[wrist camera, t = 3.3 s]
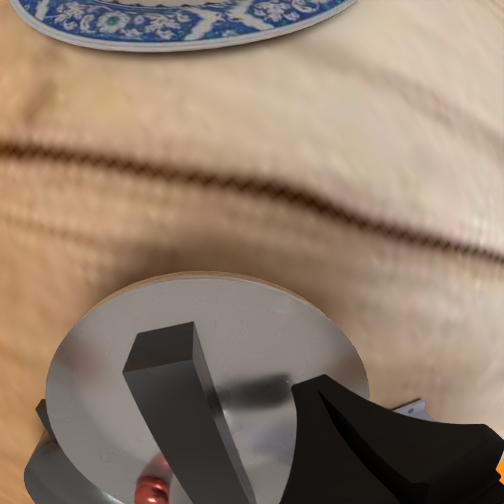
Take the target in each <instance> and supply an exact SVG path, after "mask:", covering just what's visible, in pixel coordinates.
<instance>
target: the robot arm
mask: <svg viewBox="0 0 504 504" xmlns="http://www.w3.org/2000/svg"><path fill="white" fill-rule="evenodd" d="M291 391H292V395H293V399H294V403H295V407H296V417H297V428H296V442H295V450H294V456H293V461H292V466H291V470H290V474H289V477H288V481H287V484H286V487H285V489H284V492H283V495H282V498H281V500H280V503H279V504H504V484H503V483H502V482H501V481H500V479H501V474H500V473H499V472H498V471H497V470H496V468H497V466H498V463H499V461H500V459H501V456H502V454H503V451H504V440H503V439H502V438H501V437H500V436H499V435H498V434H497V433H496V432H495V431H494V430H492V429H491V428H489V427H488V426H487V425H485V424H450V423H440V422H435V421H434V420H433V419H432V418H431V417H430V416H429V415H428V414H427V413H426V412H425V410H424V408H425V402H424V401H423V400H418V401H416V402H414V403H411V404H409V405H406V406H404V407H401V408H398V409H396V410H393V411H391V410H389V409H386V408H384V407H382V406H379V405H377V404H375V403H373V402H371V401H369V400H367V399H365V398H363V397H361V396H359V395H358V394H356V393H354V392H352V391H351V390H349V389H347V388H346V387H344V386H343V385H341V384H340V383H338V382H337V381H335V380H334V379H332V378H331V377H329V376H328V375H326V374H323V375H320V376H317V377H314V378H312V379H309V380H306V381H303V382H300V383H297V384H294V385H293V386H292V387H291Z"/></svg>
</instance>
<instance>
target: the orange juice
mask: <svg viewBox="0 0 504 504" xmlns="http://www.w3.org/2000/svg"><path fill="white" fill-rule="evenodd" d="M496 470H497V471H498V472H499V473H500V474H501V479H500V481H501V482H502V483H503V484H504V459H503V460H502V461H501V463H500V464H499V465H498V466H497V468H496Z"/></svg>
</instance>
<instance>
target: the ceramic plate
mask: <svg viewBox="0 0 504 504" xmlns="http://www.w3.org/2000/svg"><path fill="white" fill-rule="evenodd" d="M9 1H10V3H11V5H12V6H13V8H14V10H15V11H16V13H17V14H18V15H19V16H20V18H21V19H22V20H24V21H25V22H26V23H27V24H28V25H29V26H31V27H32V28H34V29H36V30H37V31H39V32H41V33H42V34H44V35H47V36H49V37H52V38H54V39H56V40H59V41H62V42H66V43H69V44H73V45H77V46H83V47H88V48H94V49H99V50H105V51H126V52H175V51H192V50H201V49H211V48H220V47H226V46H233V45H240V44H245V43H250V42H255V41H260V40H266V39H269V38H273V37H277V36H281V35H285V34H289V33H292V32H295V31H298V30H301V29H304V28H307V27H309V26H312V25H314V24H317V23H319V22H321V21H324V20H326V19H328V18H330V17H332V16H334V15H335V14H337V13H339V12H341V11H343V10H344V9H346V8H347V7H348V6H350V5H351V4H353V3H354V2H356V1H357V0H9Z"/></svg>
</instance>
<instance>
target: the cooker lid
mask: <svg viewBox="0 0 504 504" xmlns="http://www.w3.org/2000/svg"><path fill="white" fill-rule="evenodd" d="M323 374H326V375H328V376H329V377H331V378H332V379H334V380H335V381H337V382H338V383H340V384H341V385H343V386H344V387H346V388H347V389H349V390H351V391H352V392H354V393H356V394H358V395H359V396H361V397H363V398H365V399H367V400H369V398H370V394H369V385H368V379H367V375H366V372H365V368H364V365H363V363H362V361H361V359H360V357H359V355H358V353H357V351H356V349H355V347H354V346H353V345H352V343H351V342H350V341H349V339H348V338H347V337H346V335H345V334H344V333H343V332H342V331H341V330H340V329H339V328H338V327H337V326H336V325H335V324H334V323H333V322H332V321H331V320H330V319H329V318H328V317H327V316H326V315H325V314H324V313H323V312H322V311H321V310H320V309H319V308H317V307H316V306H314V305H313V304H312V303H310V302H309V301H307V300H306V299H304V298H303V297H302V296H300V295H298V294H296V293H294V292H292V291H290V290H288V289H286V288H284V287H282V286H280V285H277V284H274V283H271V282H268V281H265V280H263V279H260V278H256V277H251V276H247V275H242V274H237V273H231V272H219V271H183V272H176V273H170V274H164V275H158V276H154V277H151V278H148V279H145V280H142V281H138V282H135V283H132V284H130V285H128V286H126V287H124V288H122V289H120V290H118V291H116V292H113V293H112V294H110V295H109V296H107V297H106V298H104V299H103V300H101V301H100V302H98V303H97V304H95V305H94V306H93V307H92V308H91V309H90V310H89V311H88V312H87V313H86V314H85V315H84V316H83V317H82V318H80V320H79V321H78V322H77V323H76V324H75V325H74V327H73V328H72V329H71V330H70V331H69V333H68V334H67V336H66V337H65V338H64V340H63V341H62V342H61V344H60V345H59V347H58V349H57V351H56V353H55V355H54V357H53V359H52V361H51V364H50V368H49V372H48V376H47V380H46V395H45V396H46V406H47V413H48V417H49V421H50V424H51V428H52V430H53V432H54V434H55V437H56V439H57V441H58V443H59V445H60V446H61V448H62V450H63V451H64V453H65V454H66V456H67V457H68V458H69V460H70V461H71V462H72V463H73V465H74V466H75V467H76V468H77V469H78V470H79V471H80V472H81V473H82V474H83V475H84V476H85V477H86V478H87V479H88V480H89V481H90V482H92V483H93V484H94V485H95V486H97V487H98V488H99V489H101V490H102V491H104V492H105V493H107V494H108V495H110V496H112V497H113V498H115V499H117V500H118V501H120V502H122V503H124V504H279V503H280V500H281V498H282V495H283V492H284V489H285V487H286V484H287V481H288V477H289V474H290V470H291V466H292V461H293V456H294V450H295V442H296V428H297V417H296V407H295V403H294V399H293V395H292V391H291V387H292V386H293V385H294V384H297V383H300V382H303V381H306V380H309V379H312V378H314V377H317V376H320V375H323Z"/></svg>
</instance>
